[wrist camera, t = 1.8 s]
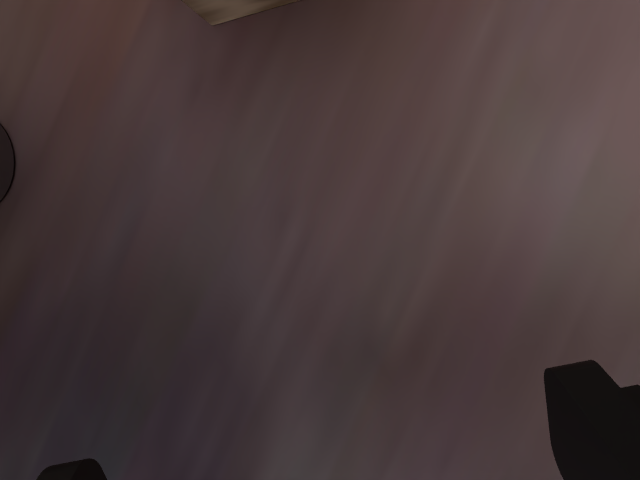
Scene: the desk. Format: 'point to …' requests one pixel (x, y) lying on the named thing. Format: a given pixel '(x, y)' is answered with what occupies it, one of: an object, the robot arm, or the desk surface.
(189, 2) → the zigzag patterned block
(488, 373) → the desk surface
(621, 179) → the desk surface
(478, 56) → the desk surface
